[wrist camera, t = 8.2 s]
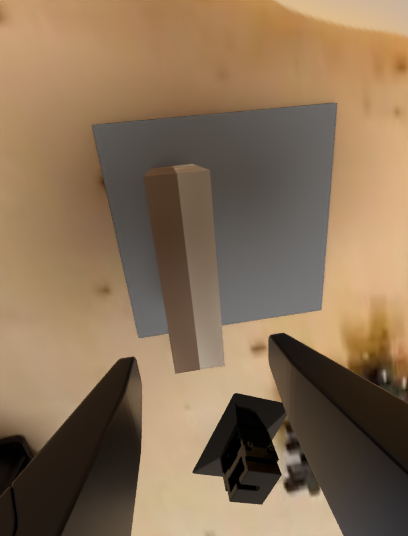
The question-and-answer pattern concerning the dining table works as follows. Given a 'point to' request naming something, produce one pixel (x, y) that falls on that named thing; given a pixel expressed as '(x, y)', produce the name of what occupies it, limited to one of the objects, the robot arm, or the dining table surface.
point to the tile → (187, 263)
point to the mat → (230, 205)
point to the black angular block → (245, 448)
